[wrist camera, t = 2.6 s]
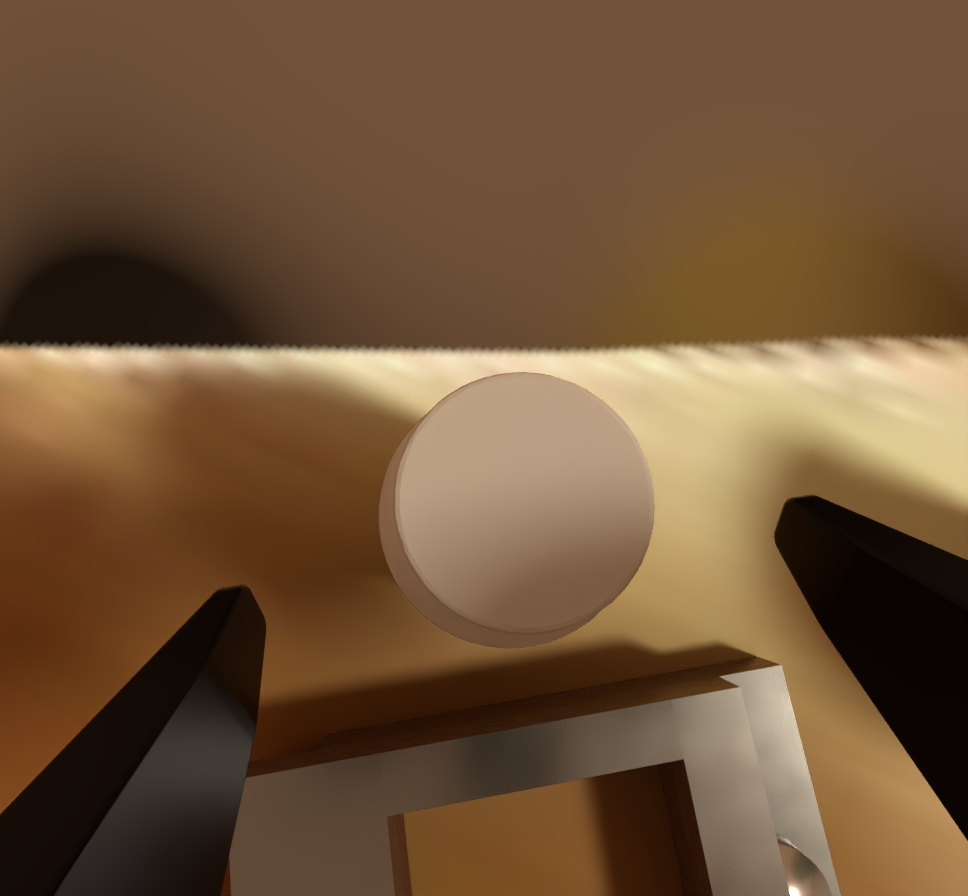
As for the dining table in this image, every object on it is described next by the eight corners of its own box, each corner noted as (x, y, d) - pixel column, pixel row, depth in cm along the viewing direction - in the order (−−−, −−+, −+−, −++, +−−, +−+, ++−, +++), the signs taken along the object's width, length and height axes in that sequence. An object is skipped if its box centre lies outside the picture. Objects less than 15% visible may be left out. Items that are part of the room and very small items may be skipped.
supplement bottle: (596, 496, 17) (759, 426, 8) (525, 641, 16) (612, 766, 7) (460, 423, 18) (456, 271, 8) (382, 560, 17) (271, 570, 7)
